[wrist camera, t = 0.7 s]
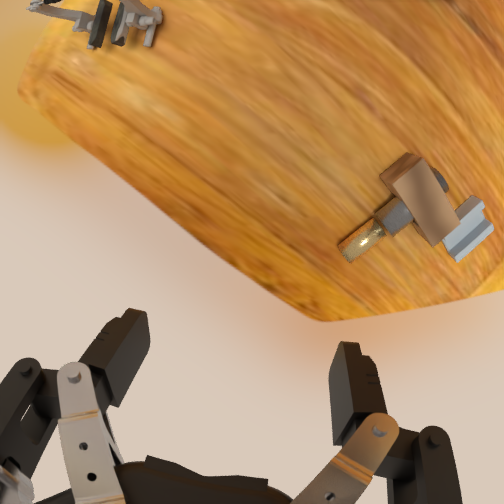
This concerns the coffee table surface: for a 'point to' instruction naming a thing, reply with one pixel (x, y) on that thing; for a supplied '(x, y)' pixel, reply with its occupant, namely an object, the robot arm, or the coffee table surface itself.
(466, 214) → the cradle
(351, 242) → the cylinder
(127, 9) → the bike brake
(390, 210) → the axle
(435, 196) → the beam
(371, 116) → the coffee table surface
